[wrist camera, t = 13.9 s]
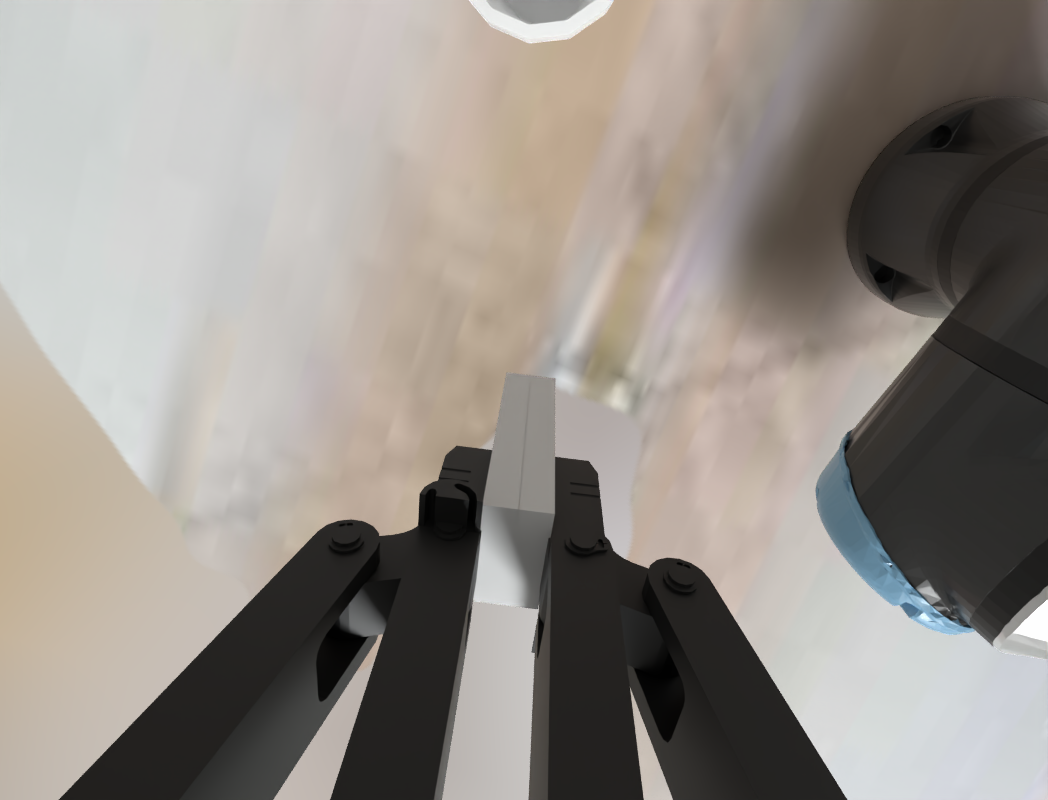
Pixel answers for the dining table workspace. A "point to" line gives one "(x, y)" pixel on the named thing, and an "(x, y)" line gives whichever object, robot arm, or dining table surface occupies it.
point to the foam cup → (541, 17)
